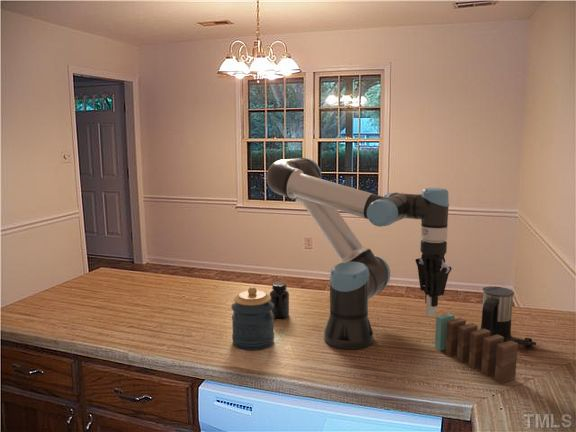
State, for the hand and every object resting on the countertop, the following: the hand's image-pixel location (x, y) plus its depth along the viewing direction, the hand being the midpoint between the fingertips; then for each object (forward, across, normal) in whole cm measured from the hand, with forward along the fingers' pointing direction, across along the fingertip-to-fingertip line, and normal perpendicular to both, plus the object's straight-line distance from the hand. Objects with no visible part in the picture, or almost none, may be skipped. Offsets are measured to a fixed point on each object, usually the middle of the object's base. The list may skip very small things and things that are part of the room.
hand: (430, 315), depth 147 cm
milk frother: (+8, +11, +21) cm, 25 cm away
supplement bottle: (+8, -39, -33) cm, 52 cm away
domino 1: (+8, +6, 0) cm, 10 cm away
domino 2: (+8, +10, 0) cm, 13 cm away
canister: (+8, -24, -49) cm, 55 cm away
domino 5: (+8, +23, 0) cm, 25 cm away
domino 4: (+8, +19, 0) cm, 21 cm away
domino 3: (+8, +15, 0) cm, 17 cm away
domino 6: (+8, +28, 0) cm, 29 cm away
